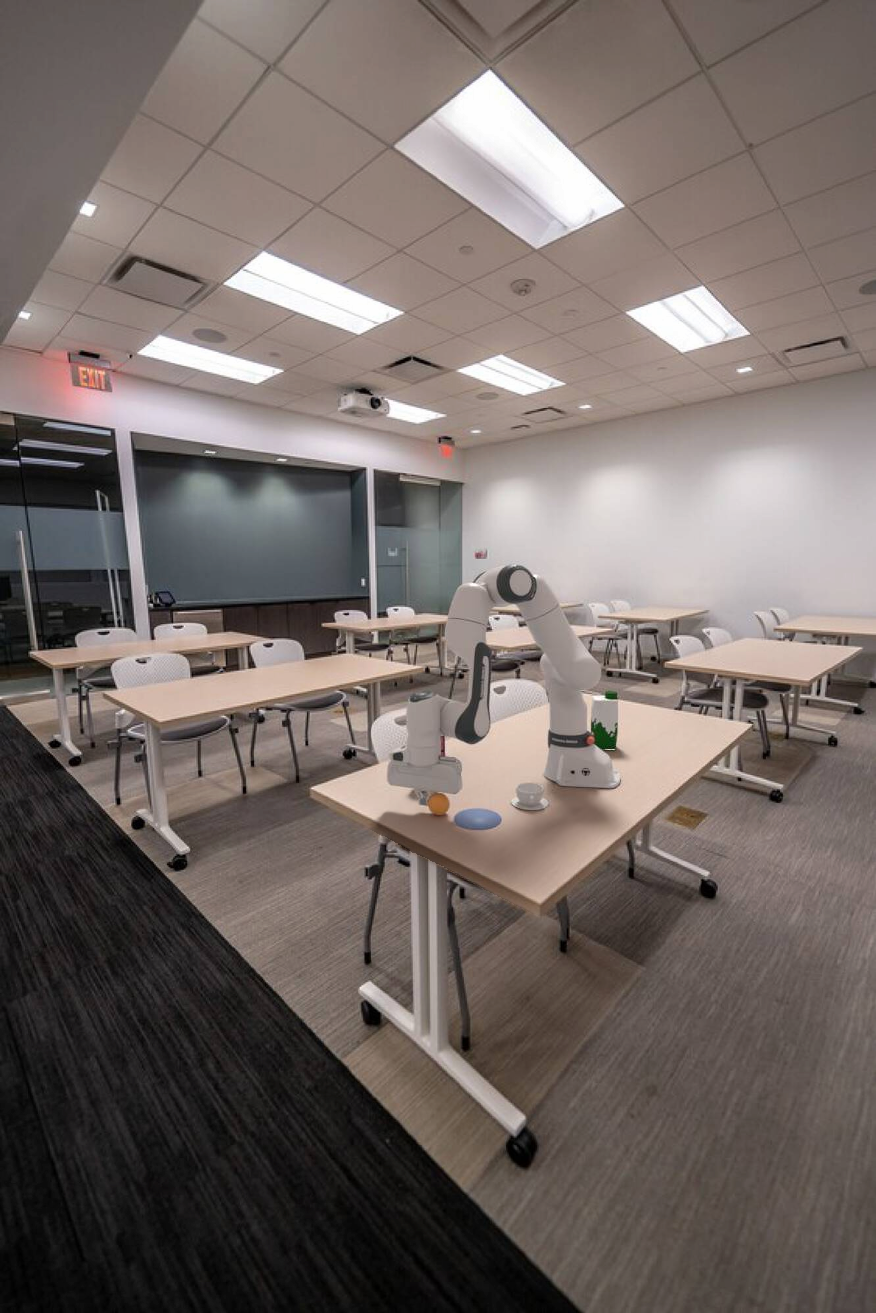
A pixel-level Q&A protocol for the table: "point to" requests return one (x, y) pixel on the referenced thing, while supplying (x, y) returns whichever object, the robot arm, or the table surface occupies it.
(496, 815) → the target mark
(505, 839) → the table surface
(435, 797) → the ball
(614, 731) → the milk carton
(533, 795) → the teacup
